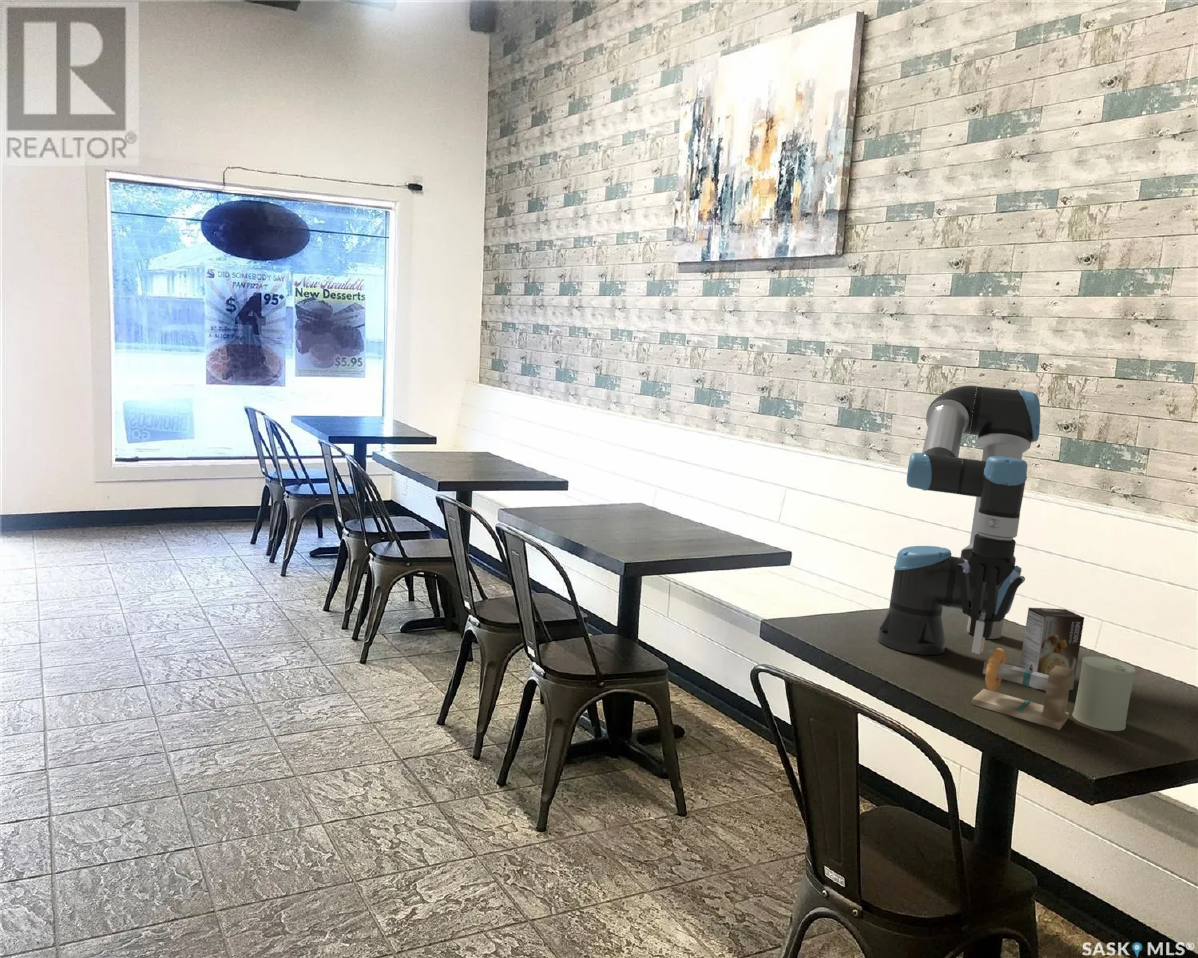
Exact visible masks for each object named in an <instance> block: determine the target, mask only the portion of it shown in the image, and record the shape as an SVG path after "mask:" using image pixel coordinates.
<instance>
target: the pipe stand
mask: <svg viewBox="0 0 1198 958" xmlns="http://www.w3.org/2000/svg"><path fill="white" fill-rule="evenodd" d="M989 659H990V658H987V659H986V660H985V661H984V663H983V668H982V674H983V675H986V670H987V664H988V661H989ZM1072 673H1073V669H1069V668H1065V667H1061V666H1057V665H1056V666H1055V667H1054V668H1053V669H1052V670H1051V671H1050V672H1049V675H1046V674H1042V673H1038V672H1034V671H1031V670H1027V669H1023V668H1020V666H1015V665H1011V664H1004V663H1000V664H999V667H998V672H997V678H1001V679H1002V680H1006V681H1008V682H1013V683H1016V684H1020V685H1023V686H1026V687H1031V688H1032V687H1034V688H1038V689H1037V690H1042V691H1045V696H1044V702H1043V704H1040V703H1036V702H1033V701H1031V700H1028V699H1022V698H1019V697H1015V696H1011V695H1008V694H1004V693H1000V692H997V691H995V690H989V689H988V688H987V689H986V688H982V689H981V690H980V691H979V692H978V693H977V694H976V695H975V696H974V697H972V701H971V705H972V706H975V707H976V706H977V707H978V708H982V709H986V710H990V711H994V712H997V713H1000V714H1002V715H1003V714H1004V715H1006V716H1011V717H1013V718H1018V719H1021V720H1024V721H1027V722H1031V723H1035V724H1036V725H1037V724H1038V725H1041V726H1046V727H1049V728H1052V729H1054V730H1057V731H1058V730H1059V731H1060V730H1061V729H1062V728H1063V726H1064V725H1065V724H1066V723H1067V721H1068V720H1069V718H1070V717H1069V716H1070V712H1068V711H1067V707H1068V701H1069V695H1070V691H1071V690H1070V684H1071V679H1072ZM1034 688H1033V689H1034Z"/></svg>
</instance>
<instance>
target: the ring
mask: <svg viewBox="0 0 1198 958" xmlns="http://www.w3.org/2000/svg"><path fill="white" fill-rule="evenodd" d="M988 659H989V661H988V664H987V670H986V674H985V677H984V679H985V680H984V681H985V686H986V688H987V690H990V691H995V690H997V689H998V688H999V687H1000V685H1001V684H1002V682H1003V681H1002V680H1003V679H1001V678H997V672H998V667H999V664H1000V663H1004V664H1006V663H1007V656H1006V651H1005V650H1004V648H1002V647H1001V648H1000V647H997V648H996V649H995V650H993V651H991V654H990V655H989V658H988Z"/></svg>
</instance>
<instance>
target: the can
mask: <svg viewBox="0 0 1198 958" xmlns="http://www.w3.org/2000/svg"><path fill="white" fill-rule="evenodd" d="M1081 660H1082V661H1081V667H1080V668H1081V669H1080V675H1079V681H1078V688H1077V691H1076V697H1075V703H1074V708H1073V712H1072V717H1073V719H1074V720H1076V721H1077V722H1079V723H1081V724H1083V725H1086V726H1088V727H1091V728H1094V729H1099V730H1102V731H1110V732H1120V731H1124V730H1125V729H1126V726H1127V725H1126V723H1127V717H1128V711H1129V705H1130V699H1131V694H1132V688H1133V684H1134V679H1135V674H1136V671H1137V670H1136V669H1135V668H1134V667H1133V666H1132V665H1130V664H1128V663H1126V662H1123V661H1120V660H1117V659H1114V658H1113V659H1112V658H1109V657H1102V656H1093V655H1092V656H1089V655H1088V656H1084V657H1083V658H1082V659H1081Z"/></svg>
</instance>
